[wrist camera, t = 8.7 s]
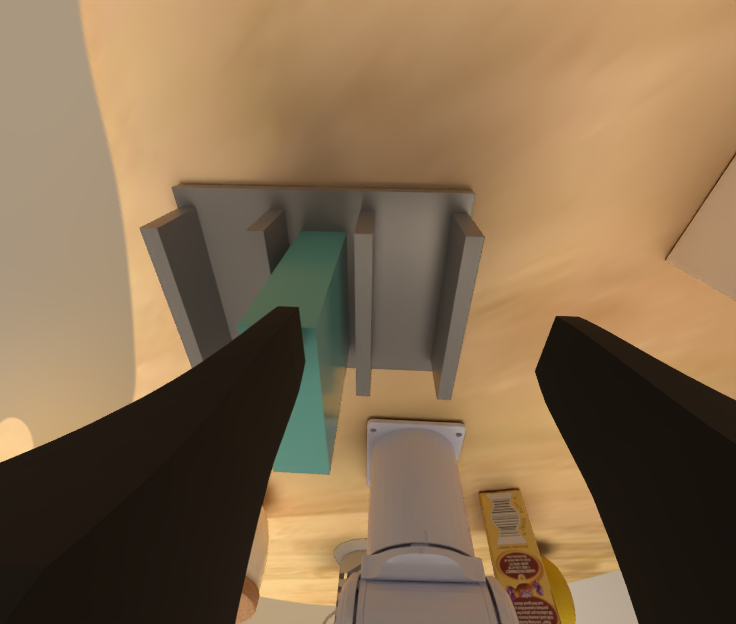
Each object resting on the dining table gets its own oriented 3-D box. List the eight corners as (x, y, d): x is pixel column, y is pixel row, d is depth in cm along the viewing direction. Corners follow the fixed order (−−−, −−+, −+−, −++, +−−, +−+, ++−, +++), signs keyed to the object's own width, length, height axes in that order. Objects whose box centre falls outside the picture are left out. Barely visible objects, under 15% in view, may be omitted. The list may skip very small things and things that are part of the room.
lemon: (548, 561, 39) (581, 655, 33) (500, 559, 40) (523, 652, 33) (559, 539, 36) (597, 638, 30) (507, 538, 37) (534, 635, 30)
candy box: (473, 491, 32) (530, 749, 19) (519, 486, 31) (610, 753, 18) (484, 534, 37) (536, 767, 24) (525, 530, 36) (601, 770, 23)
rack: (441, 363, 24) (451, 411, 20) (229, 355, 24) (200, 399, 21) (471, 189, 17) (494, 213, 13) (179, 184, 18) (126, 204, 14)
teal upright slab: (349, 347, 22) (329, 474, 15) (313, 345, 22) (274, 471, 15) (346, 232, 18) (315, 328, 10) (300, 231, 18) (236, 325, 10)
